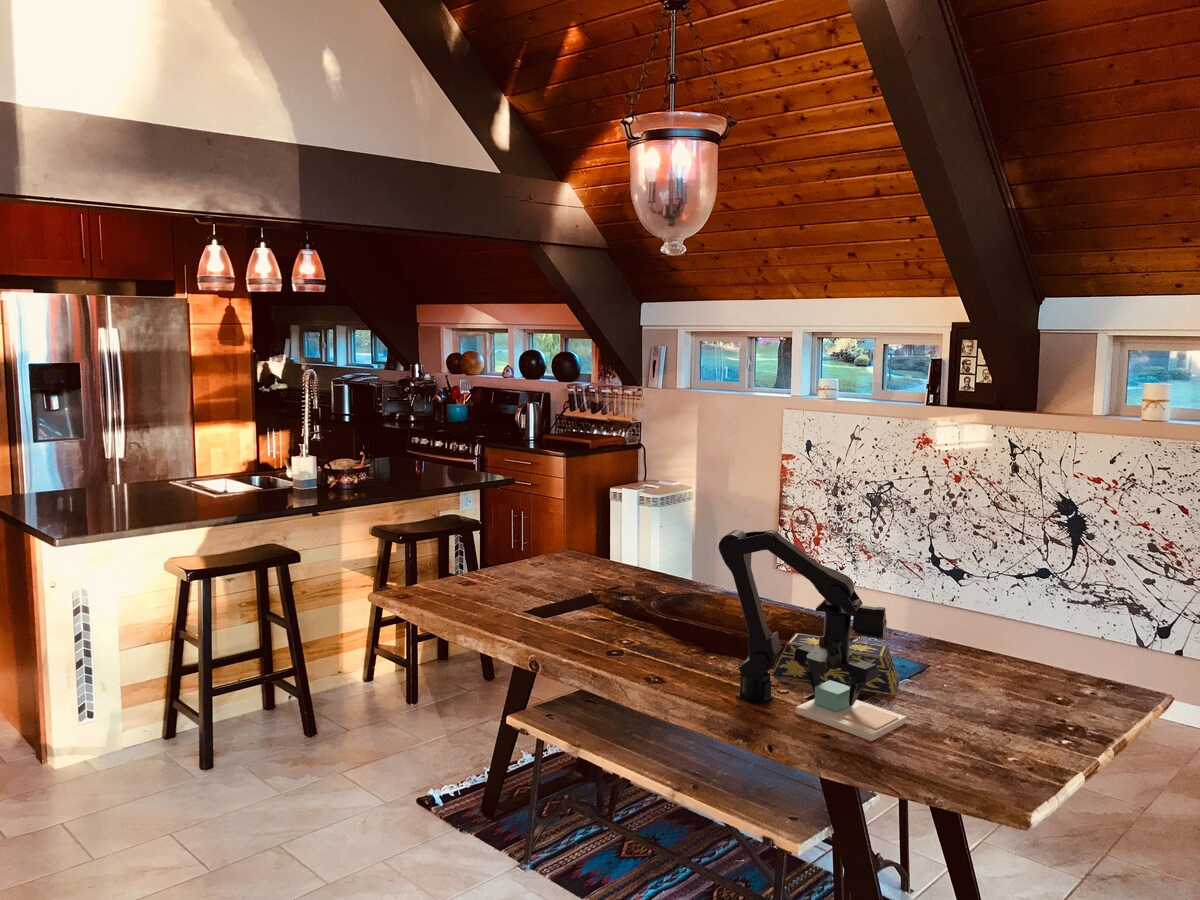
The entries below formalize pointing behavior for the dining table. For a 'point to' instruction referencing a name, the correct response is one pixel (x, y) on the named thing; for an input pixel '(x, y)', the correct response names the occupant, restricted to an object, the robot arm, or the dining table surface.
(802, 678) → the decorative box
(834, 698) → the mint green cube
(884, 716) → the board
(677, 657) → the dining table surface
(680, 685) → the dining table surface
